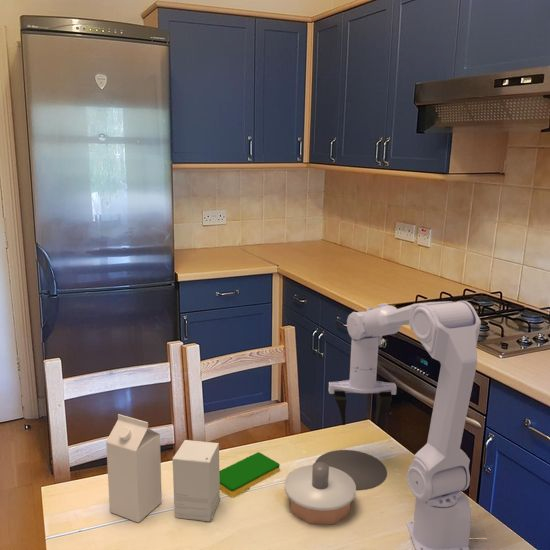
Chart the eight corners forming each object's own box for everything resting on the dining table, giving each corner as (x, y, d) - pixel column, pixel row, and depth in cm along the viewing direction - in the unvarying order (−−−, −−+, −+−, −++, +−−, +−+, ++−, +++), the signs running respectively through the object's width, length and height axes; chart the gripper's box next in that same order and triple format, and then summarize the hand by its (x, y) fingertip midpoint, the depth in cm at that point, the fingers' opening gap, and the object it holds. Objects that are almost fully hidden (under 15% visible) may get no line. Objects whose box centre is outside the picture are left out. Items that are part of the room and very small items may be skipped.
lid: (350, 469, 116) (352, 448, 115) (360, 511, 102) (361, 488, 101) (284, 467, 116) (284, 446, 115) (284, 509, 102) (285, 486, 101)
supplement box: (220, 499, 112) (220, 442, 109) (210, 523, 104) (209, 462, 102) (185, 495, 113) (184, 438, 110) (172, 518, 106) (171, 458, 103)
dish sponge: (280, 473, 122) (280, 463, 121) (232, 500, 112) (232, 489, 112) (258, 461, 127) (258, 451, 126) (210, 485, 117) (210, 474, 117)
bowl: (344, 489, 116) (345, 472, 115) (352, 525, 104) (353, 507, 103) (289, 489, 115) (289, 471, 115) (291, 525, 104) (292, 506, 103)
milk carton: (133, 493, 113) (130, 406, 109) (162, 503, 110) (159, 414, 106) (109, 512, 107) (104, 422, 103) (138, 523, 104) (135, 430, 100)
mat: (379, 451, 131) (379, 450, 130) (394, 492, 115) (394, 490, 115) (311, 450, 130) (311, 449, 130) (317, 491, 115) (317, 489, 115)
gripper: (393, 359, 123) (389, 415, 126) (328, 358, 123) (325, 414, 126) (400, 371, 117) (396, 430, 120) (331, 370, 116) (328, 429, 119)
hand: (360, 423), depth 122 cm, fingers open, 7 cm apart
